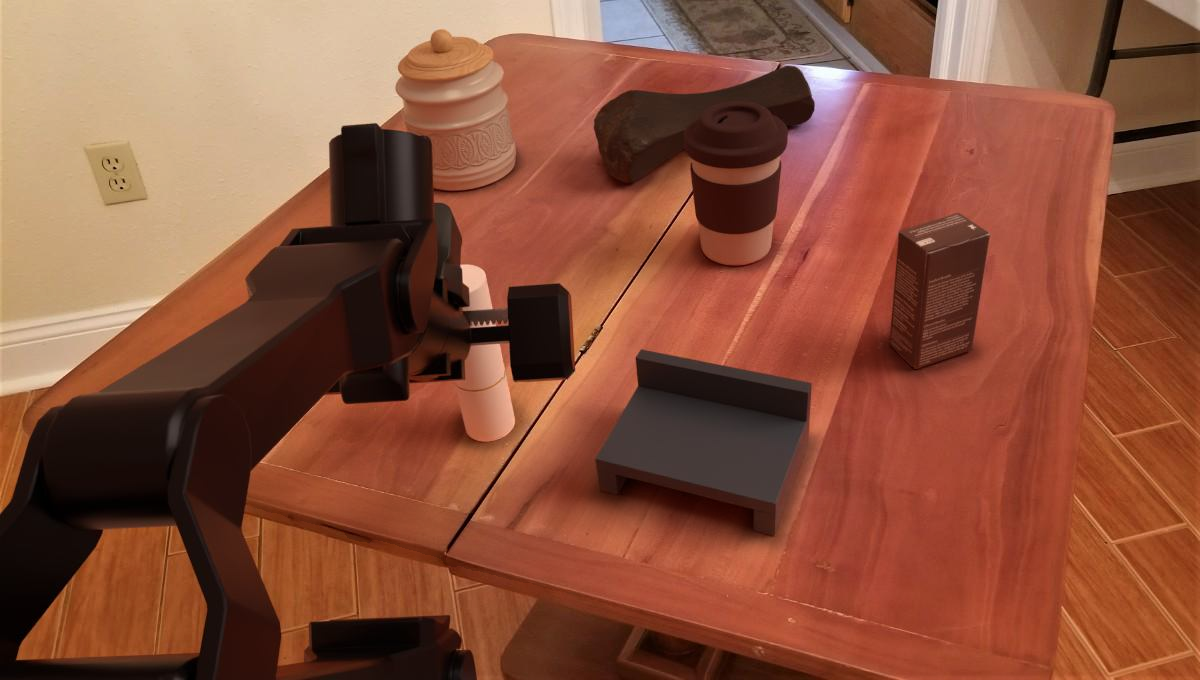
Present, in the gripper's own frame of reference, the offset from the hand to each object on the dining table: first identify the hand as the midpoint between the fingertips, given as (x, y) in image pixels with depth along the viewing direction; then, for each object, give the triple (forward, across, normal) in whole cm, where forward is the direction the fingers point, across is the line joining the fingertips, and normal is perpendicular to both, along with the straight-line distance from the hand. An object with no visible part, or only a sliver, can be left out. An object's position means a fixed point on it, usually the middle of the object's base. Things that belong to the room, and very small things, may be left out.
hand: (459, 353), depth 70 cm
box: (+16, -39, +1) cm, 42 cm away
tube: (+11, 0, +5) cm, 12 cm away
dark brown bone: (+45, -22, -29) cm, 58 cm away
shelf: (+6, -18, +10) cm, 21 cm away
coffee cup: (+29, -24, -12) cm, 39 cm away
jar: (+45, +8, -28) cm, 54 cm away
